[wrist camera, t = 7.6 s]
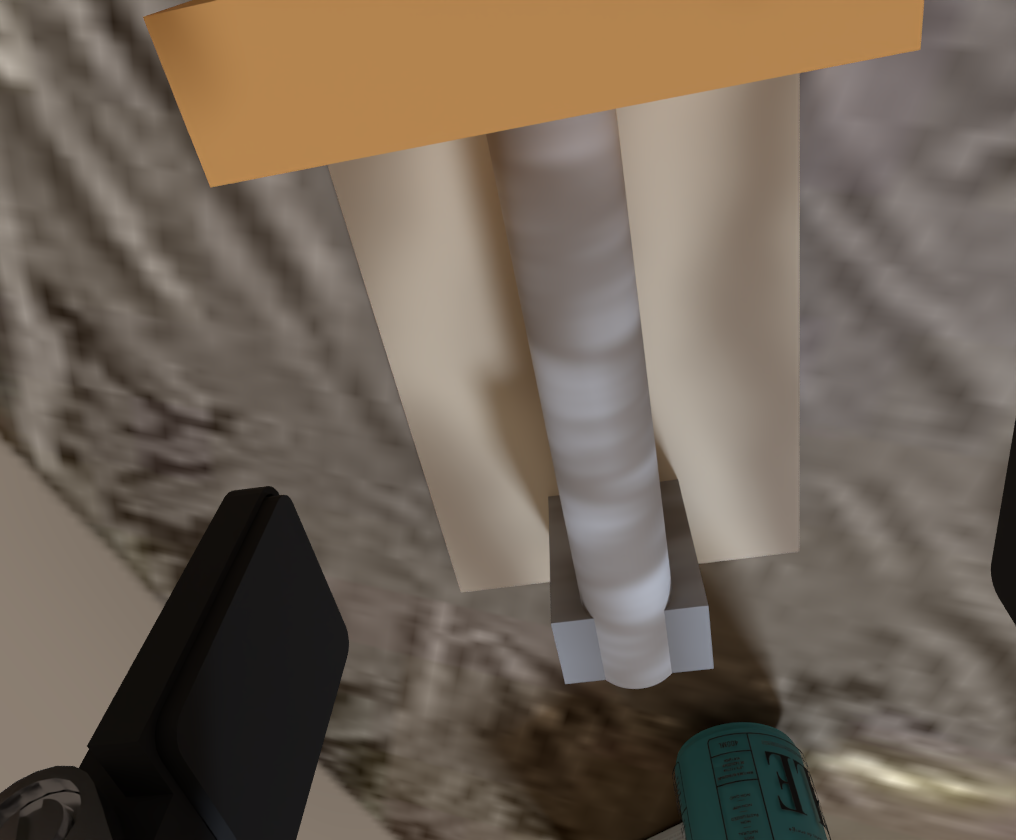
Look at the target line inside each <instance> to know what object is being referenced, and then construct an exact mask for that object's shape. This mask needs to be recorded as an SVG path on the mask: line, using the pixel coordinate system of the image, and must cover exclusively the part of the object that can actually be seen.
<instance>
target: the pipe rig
mask: <svg viewBox="0 0 1016 840" xmlns="http://www.w3.org/2000/svg"><path fill="white" fill-rule="evenodd" d="M328 168H329V171H330V175H331V178H332V181H333V184H334V187H335V191H336V194H337V197H338V200H339V203H340V207H341V210H342V213H343V216H344V219H345V223H346V226H347V229H348V232H349V235H350V239H351V242H352V245H353V248H354V251H355V255H356V258H357V261H358V264H359V267H360V271H361V274H362V277H363V280H364V283H365V287H366V290H367V293H368V296H369V299H370V303H371V306H372V309H373V312H374V315H375V319H376V322H377V325H378V328H379V331H380V334H381V338H382V341H383V344H384V347H385V350H386V354H387V357H388V360H389V363H390V366H391V370H392V373H393V376H394V379H395V382H396V386H397V389H398V392H399V395H400V398H401V402H402V405H403V408H404V411H405V414H406V418H407V421H408V424H409V427H410V430H411V434H412V437H413V440H414V443H415V446H416V450H417V453H418V456H419V459H420V462H421V466H422V469H423V472H424V475H425V478H426V482H427V485H428V488H429V491H430V494H431V498H432V501H433V504H434V507H435V510H436V514H437V517H438V520H439V523H440V526H441V530H442V533H443V536H444V539H445V542H446V546H447V549H448V552H449V555H450V558H451V561H452V565H453V568H454V571H455V574H456V577H457V581H458V584H459V587H460V590H461V592H469V591H478V590H486V589H494V588H503V587H511V586H519V585H527V584H536V583H544V582H550V600H551V626H552V630H553V634H554V638H555V642H556V647H557V651H558V655H559V659H560V664H561V668H562V672H563V676H564V681H565V684H571V683H580V682H590V681H600V680H607V681H608V682H610V683H612V684H614V685H616V686H619V687H622V688H628V689H641V688H647V687H651V686H654V685H656V684H658V683H660V682H662V681H663V680H665V679H666V678H667V677H668V676H670V675H671V673H676V672H686V671H695V670H705V669H714V666H713V654H712V642H711V630H710V619H709V607H708V602H707V598H706V593H705V589H704V585H703V581H702V577H701V573H700V569H699V564H701V563H709V562H718V561H726V560H734V559H743V558H751V557H759V556H767V555H776V554H784V553H792V552H799V365H800V73H797V74H792V75H787V76H782V77H777V78H771V79H766V80H761V81H756V82H751V83H746V84H740V85H735V86H730V87H725V88H720V89H715V90H710V91H704V92H699V93H694V94H689V95H684V96H679V97H674V98H668V99H663V100H658V101H653V102H648V103H643V104H637V105H632V106H627V107H622V108H617V109H612V110H607V111H601V112H596V113H591V114H586V115H581V116H576V117H570V118H565V119H560V120H555V121H550V122H545V123H540V124H534V125H529V126H524V127H519V128H514V129H509V130H504V131H498V132H493V133H488V134H483V135H478V136H473V137H467V138H462V139H457V140H452V141H447V142H442V143H437V144H431V145H426V146H421V147H416V148H411V149H406V150H401V151H395V152H390V153H385V154H380V155H375V156H370V157H364V158H359V159H354V160H349V161H344V162H339V163H334V164H328Z"/></svg>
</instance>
